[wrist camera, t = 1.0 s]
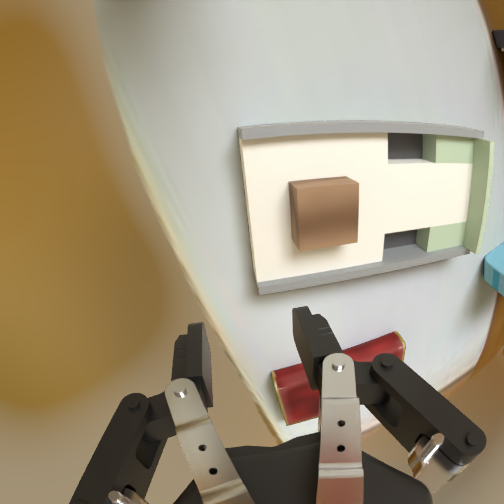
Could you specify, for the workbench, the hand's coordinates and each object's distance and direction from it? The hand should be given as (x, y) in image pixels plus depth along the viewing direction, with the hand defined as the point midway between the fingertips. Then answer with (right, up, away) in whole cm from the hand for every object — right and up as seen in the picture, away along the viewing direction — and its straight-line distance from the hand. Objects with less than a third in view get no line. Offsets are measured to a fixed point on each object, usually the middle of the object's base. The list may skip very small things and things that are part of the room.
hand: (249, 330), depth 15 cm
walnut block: (+7, +8, +15) cm, 19 cm away
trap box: (+14, +11, +18) cm, 26 cm away
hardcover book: (+14, -16, +32) cm, 39 cm away
